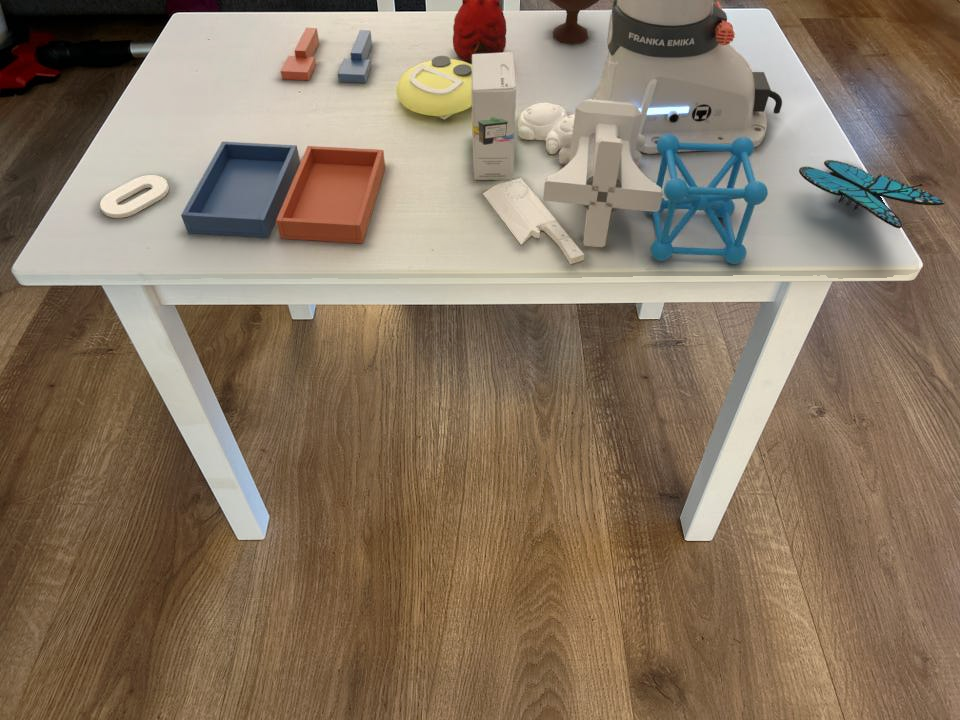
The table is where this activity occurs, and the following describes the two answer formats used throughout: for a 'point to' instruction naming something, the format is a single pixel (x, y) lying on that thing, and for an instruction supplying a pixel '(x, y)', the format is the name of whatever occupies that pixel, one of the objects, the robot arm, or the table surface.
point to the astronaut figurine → (545, 124)
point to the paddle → (357, 60)
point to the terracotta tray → (332, 195)
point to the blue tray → (242, 190)
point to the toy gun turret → (603, 164)
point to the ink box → (493, 115)
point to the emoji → (437, 87)
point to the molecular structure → (705, 198)
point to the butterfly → (866, 189)
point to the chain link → (155, 194)
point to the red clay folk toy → (479, 29)
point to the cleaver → (529, 216)
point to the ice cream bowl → (572, 21)
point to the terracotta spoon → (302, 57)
